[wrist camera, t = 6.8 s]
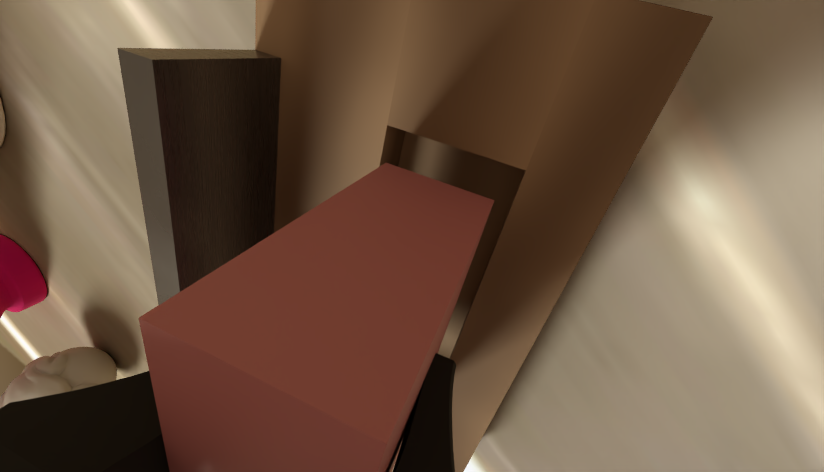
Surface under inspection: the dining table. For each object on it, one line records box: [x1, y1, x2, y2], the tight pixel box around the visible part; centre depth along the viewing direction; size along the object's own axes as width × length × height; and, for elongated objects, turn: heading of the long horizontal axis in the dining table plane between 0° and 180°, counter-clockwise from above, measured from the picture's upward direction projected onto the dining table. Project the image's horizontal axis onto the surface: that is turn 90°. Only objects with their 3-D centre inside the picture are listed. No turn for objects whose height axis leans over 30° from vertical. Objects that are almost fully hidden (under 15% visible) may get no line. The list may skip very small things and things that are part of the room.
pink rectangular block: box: [139, 163, 494, 472], centre depth 10 cm, size 4×10×8 cm, turn 167°
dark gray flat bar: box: [118, 48, 281, 305], centre depth 14 cm, size 1×14×4 cm, turn 167°
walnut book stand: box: [255, 0, 713, 472], centre depth 16 cm, size 12×21×2 cm, turn 167°
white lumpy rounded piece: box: [0, 347, 117, 408], centre depth 29 cm, size 6×7×7 cm
